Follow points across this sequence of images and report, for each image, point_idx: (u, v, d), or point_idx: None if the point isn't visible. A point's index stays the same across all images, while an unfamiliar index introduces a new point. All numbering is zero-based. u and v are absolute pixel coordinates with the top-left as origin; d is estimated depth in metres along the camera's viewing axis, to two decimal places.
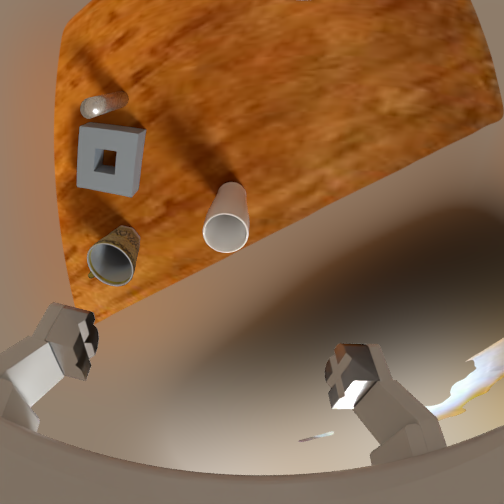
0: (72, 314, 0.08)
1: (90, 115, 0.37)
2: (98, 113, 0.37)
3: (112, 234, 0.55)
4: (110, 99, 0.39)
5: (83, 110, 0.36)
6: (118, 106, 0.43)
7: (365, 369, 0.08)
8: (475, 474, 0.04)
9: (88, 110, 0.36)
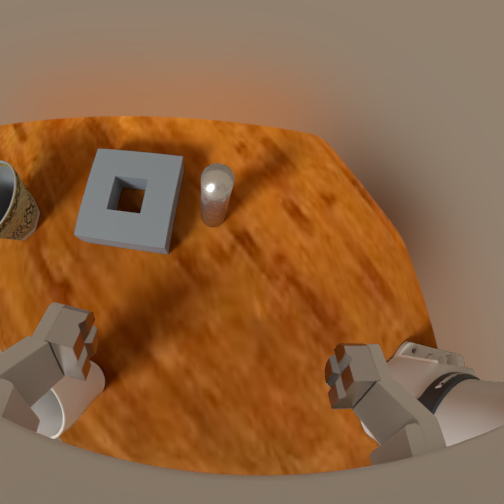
0: (72, 314, 0.08)
1: (205, 180, 0.28)
2: (206, 192, 0.29)
3: (27, 202, 0.31)
4: (222, 207, 0.33)
5: (215, 168, 0.29)
6: (206, 216, 0.36)
7: (365, 369, 0.08)
8: (475, 474, 0.04)
9: (214, 177, 0.29)
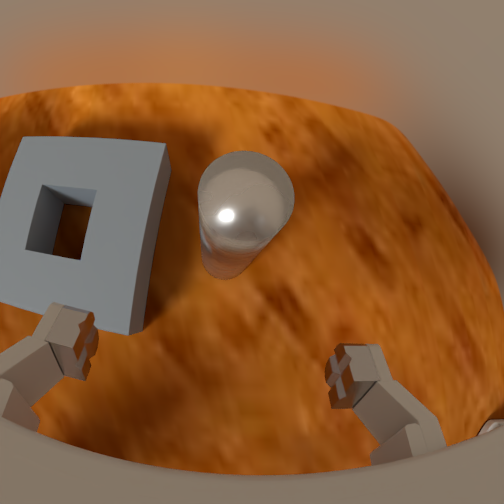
0: (72, 314, 0.08)
1: (212, 199, 0.10)
2: (214, 234, 0.10)
3: None
4: (251, 258, 0.14)
5: (238, 165, 0.10)
6: (212, 267, 0.18)
7: (365, 369, 0.08)
8: (475, 474, 0.04)
9: (236, 189, 0.10)
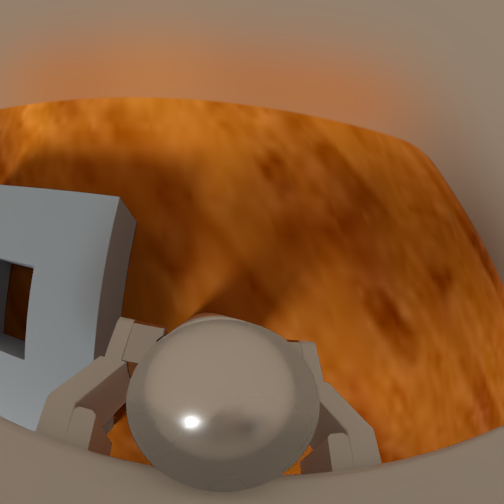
0: (146, 329, 0.08)
1: (156, 428, 0.04)
2: None
3: None
4: None
5: (204, 356, 0.05)
6: None
7: None
8: (475, 474, 0.04)
9: (203, 409, 0.04)
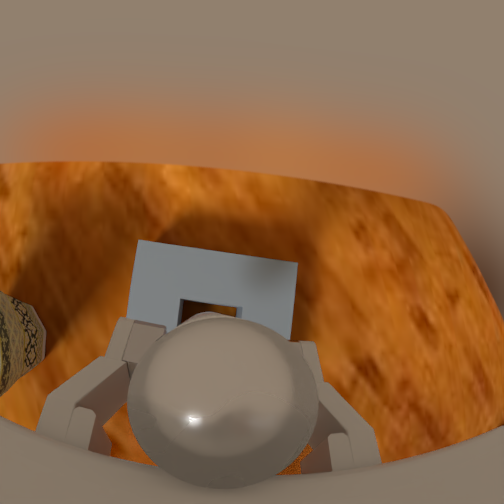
0: (147, 329, 0.08)
1: (156, 426, 0.04)
2: None
3: (24, 339, 0.17)
4: None
5: (205, 353, 0.05)
6: None
7: None
8: (475, 474, 0.04)
9: (203, 407, 0.04)
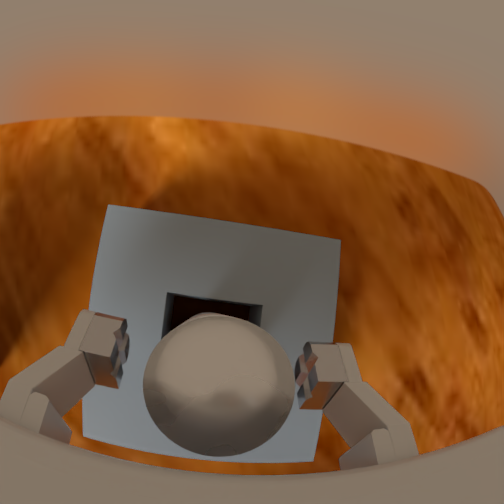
0: (105, 321, 0.08)
1: (165, 402, 0.06)
2: None
3: None
4: None
5: (204, 344, 0.06)
6: None
7: (332, 369, 0.08)
8: (475, 474, 0.04)
9: (203, 386, 0.06)
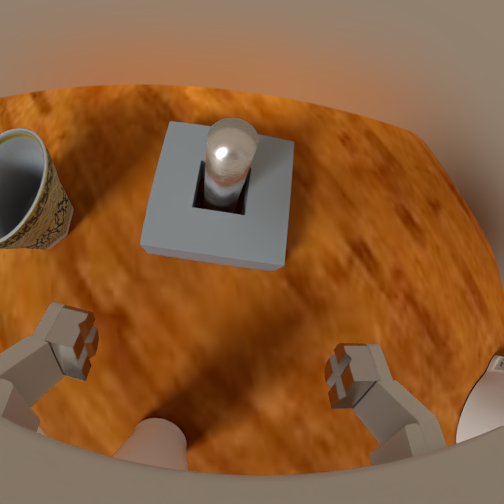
0: (72, 314, 0.08)
1: (214, 140, 0.18)
2: (215, 160, 0.18)
3: (60, 192, 0.22)
4: (237, 186, 0.22)
5: (228, 124, 0.18)
6: (211, 201, 0.26)
7: (365, 369, 0.08)
8: (475, 474, 0.04)
9: (227, 136, 0.18)
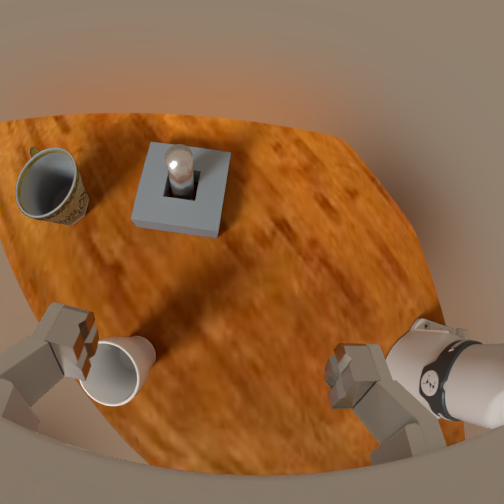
0: (72, 314, 0.08)
1: (168, 157, 0.33)
2: (169, 168, 0.33)
3: (82, 188, 0.37)
4: (186, 182, 0.37)
5: (177, 148, 0.33)
6: (175, 192, 0.41)
7: (365, 369, 0.08)
8: (475, 474, 0.04)
9: (175, 155, 0.33)
